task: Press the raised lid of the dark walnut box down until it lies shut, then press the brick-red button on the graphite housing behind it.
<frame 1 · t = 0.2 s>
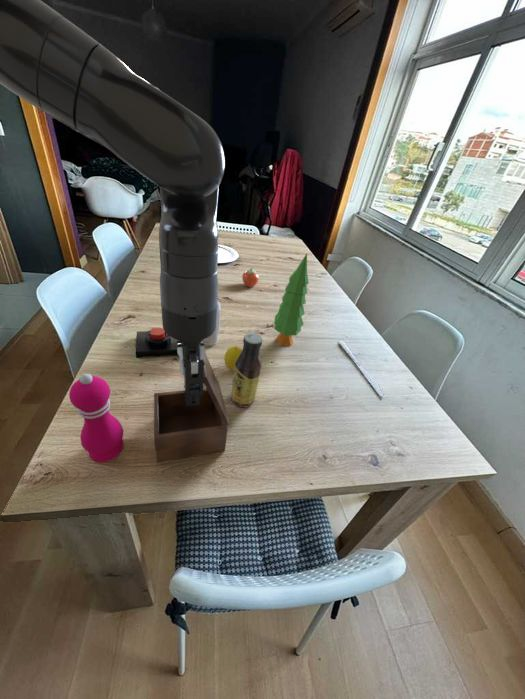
hand: (190, 385, 49), 19 cm above the table, tool pointing down, fingers open, 8 cm apart
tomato: (249, 285, 131), on the table
lemon: (233, 369, 84), on the table
lid: (212, 382, 57), point 15 cm above the table, hinge at 70.0°
pepper mill: (106, 449, 59), on the table
energy drink can: (208, 342, 93), on the table
button housing: (158, 346, 87), on the table
plate: (210, 255, 154), on the table
decorative tree: (283, 341, 99), on the table
button: (157, 333, 85), point 4 cm above the table, slide at 0.1 cm
butter knife: (359, 366, 93), on the table
sauce bottle: (242, 400, 75), on the table
box: (189, 433, 64), on the table
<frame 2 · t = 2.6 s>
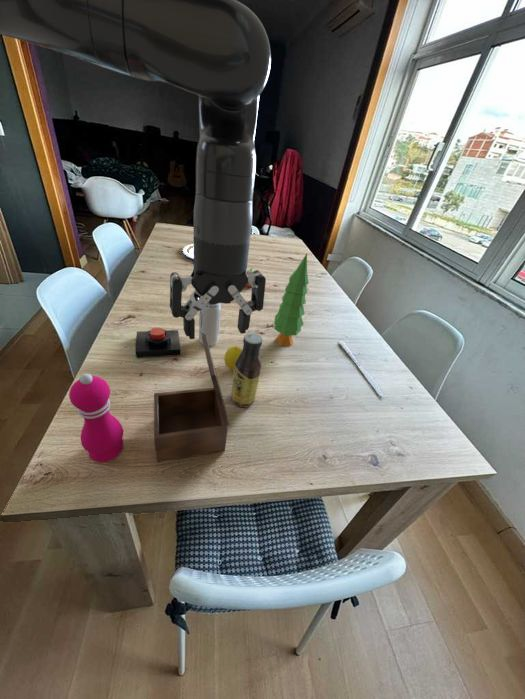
hand: (216, 333, 48), 27 cm above the table, tool pointing down, fingers open, 8 cm apart
lid: (215, 381, 57), point 15 cm above the table, hinge at 76.0°
everything else where it was.
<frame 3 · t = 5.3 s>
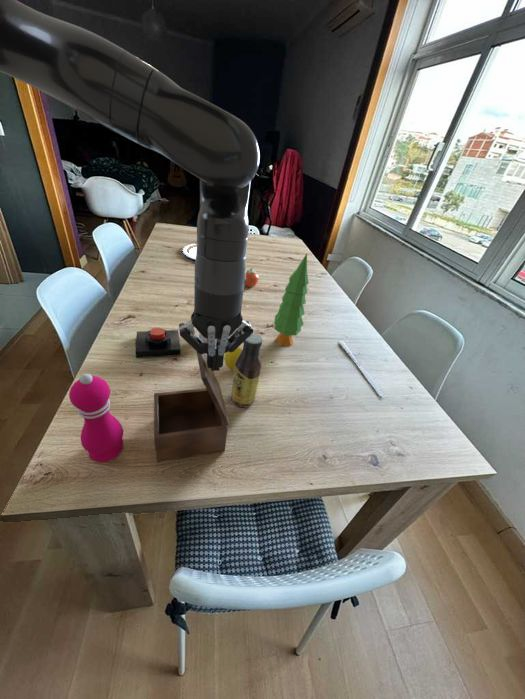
hand: (214, 367, 55), 19 cm above the table, tool pointing down, fingers closed
lid: (212, 382, 57), point 15 cm above the table, hinge at 69.9°
everything else where it was.
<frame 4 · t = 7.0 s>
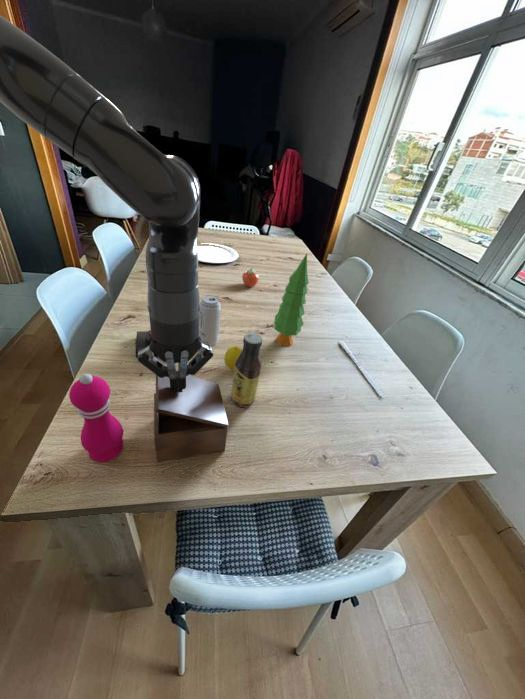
hand: (177, 389, 55), 14 cm above the table, tool pointing down, fingers closed
lid: (191, 396, 58), point 12 cm above the table, hinge at 28.9°, touching gripper
everything else where it was.
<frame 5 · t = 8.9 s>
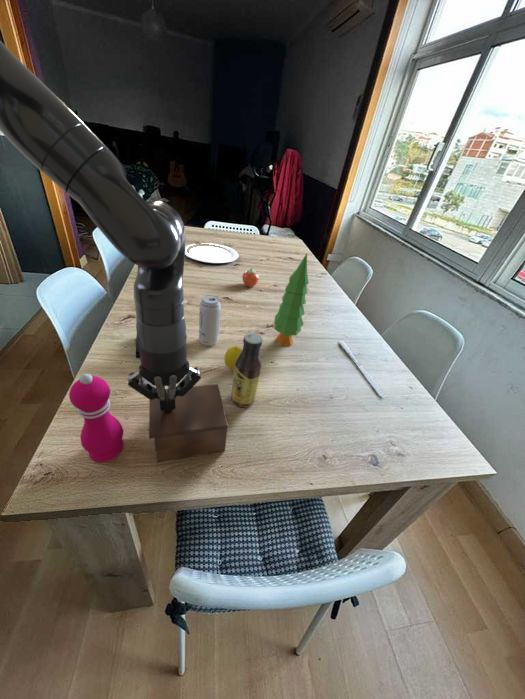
hand: (167, 409, 58), 9 cm above the table, tool pointing down, fingers closed
lid: (187, 408, 59), point 8 cm above the table, hinge at 0.3°, touching gripper
everything else where it was.
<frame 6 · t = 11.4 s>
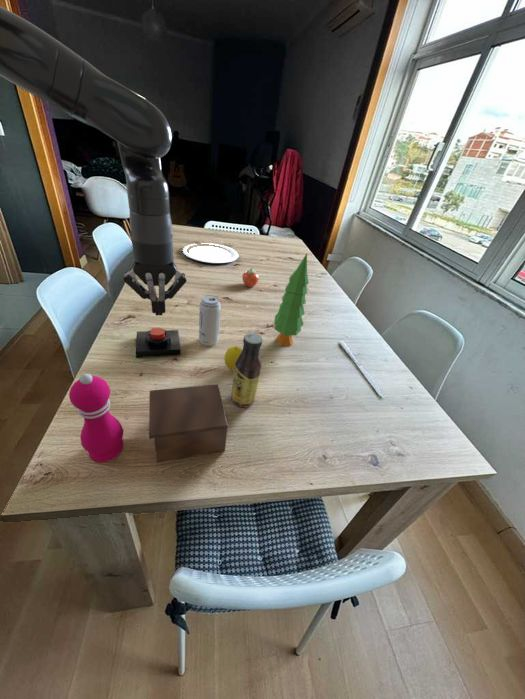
hand: (159, 313, 67), 19 cm above the table, tool pointing down, fingers closed
lid: (187, 408, 59), point 8 cm above the table, hinge at 0.1°
everything else where it was.
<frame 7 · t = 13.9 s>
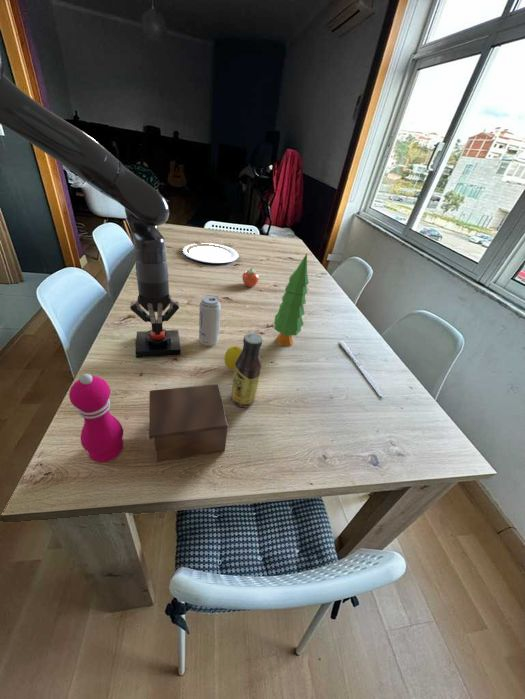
hand: (157, 332, 84), 5 cm above the table, tool pointing down, fingers closed
button: (157, 335, 85), point 4 cm above the table, slide at -0.3 cm, touching gripper
everything else where it was.
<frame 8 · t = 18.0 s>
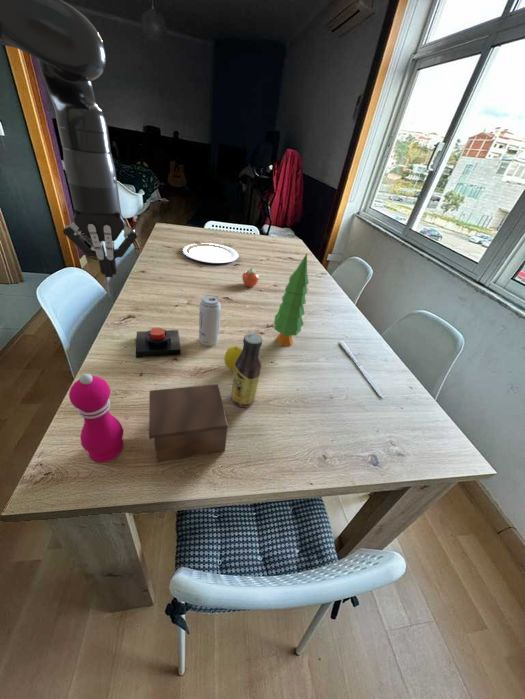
hand: (109, 275, 61), 27 cm above the table, tool pointing down, fingers closed
button: (157, 333, 85), point 4 cm above the table, slide at 0.1 cm
everything else where it was.
at the end: lid at +0° (first picture: +70°); button pushed in 1.0 cm at the most during the clip, back to where it started at the end; button slide at 0.1 cm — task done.
